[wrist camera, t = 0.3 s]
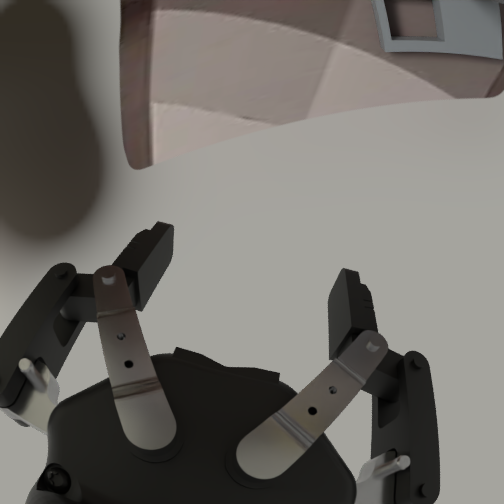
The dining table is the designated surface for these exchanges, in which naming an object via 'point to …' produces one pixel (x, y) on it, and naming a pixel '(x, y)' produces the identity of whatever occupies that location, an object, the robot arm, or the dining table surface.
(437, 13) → the gray post stand
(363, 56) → the dining table surface
